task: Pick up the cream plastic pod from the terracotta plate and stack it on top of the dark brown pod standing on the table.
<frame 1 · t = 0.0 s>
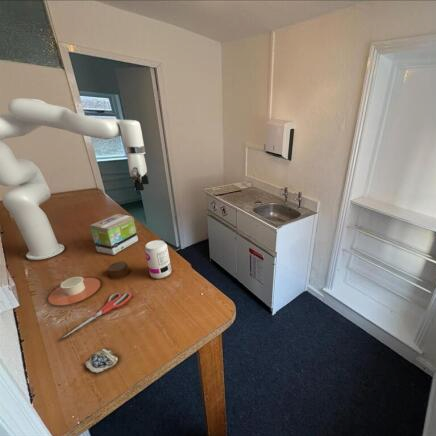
hand: (142, 187, 110), 31 cm above the table, tool pointing down, fingers open, 9 cm apart
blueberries: (103, 361, 66), on the table
brown pod: (119, 273, 100), on the table
plate: (75, 291, 89), on the table
scissors: (101, 315, 80), on the table
supplement can: (161, 273, 102), on the table
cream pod: (75, 290, 89), resting on plate
tea box: (119, 246, 118), on the table
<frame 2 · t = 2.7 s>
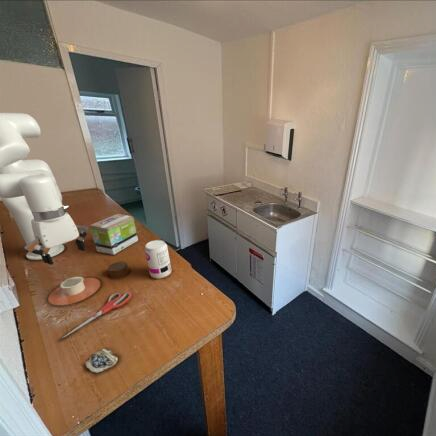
hand: (66, 256, 84), 15 cm above the table, tool pointing down, fingers open, 9 cm apart
nothing on the table moved.
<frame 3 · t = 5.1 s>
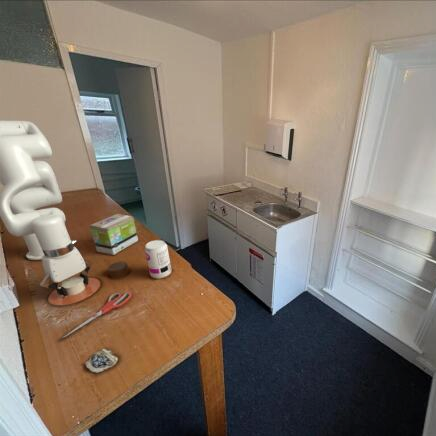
hand: (74, 288, 89), 1 cm above the table, tool pointing down, fingers closed on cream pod, 6 cm apart
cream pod: (75, 290, 89), resting on plate, touching gripper
everything else where it was.
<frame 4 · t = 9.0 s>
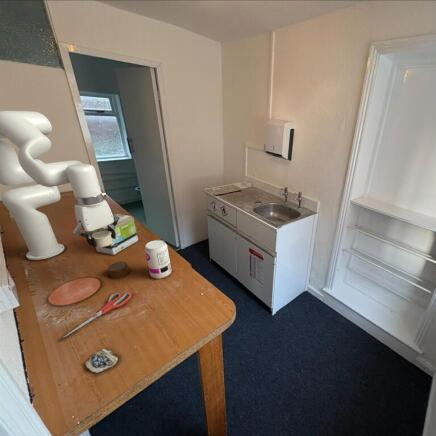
hand: (103, 241, 91), 17 cm above the table, tool pointing down, fingers closed on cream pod, 6 cm apart
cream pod: (103, 243, 91), point 16 cm above the table, touching gripper
everything else where it was.
when the fingers open (5 cm above the table, at t = 12.9 s): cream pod stays where it is, resting on brown pod.
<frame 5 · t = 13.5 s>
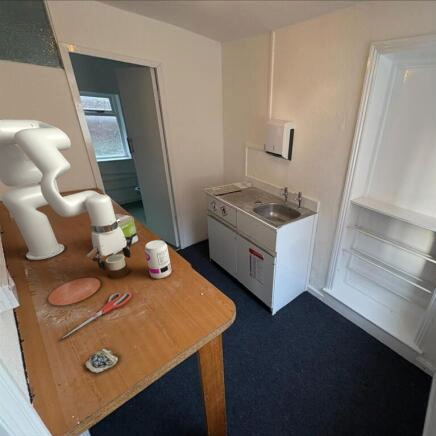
hand: (116, 262, 97), 6 cm above the table, tool pointing down, fingers open, 9 cm apart
brown pod: (119, 273, 100), on the table, touching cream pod
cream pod: (117, 266, 98), point 4 cm above the table, touching brown pod
everything else where it was.
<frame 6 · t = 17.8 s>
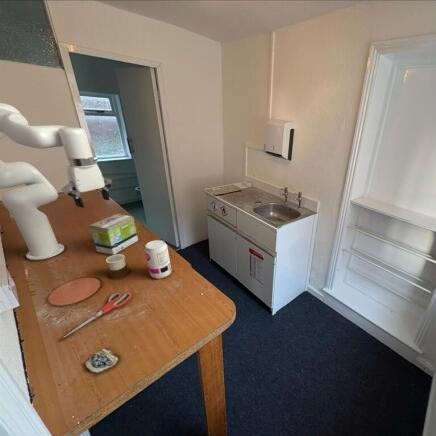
hand: (94, 203, 96), 28 cm above the table, tool pointing down, fingers open, 9 cm apart
nothing on the table moved.
at the end: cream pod 0.1 cm off-centre on the brown pod, point 4.0 cm above the brown pod's base; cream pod tilted 0°; brown pod tilted 0° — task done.
